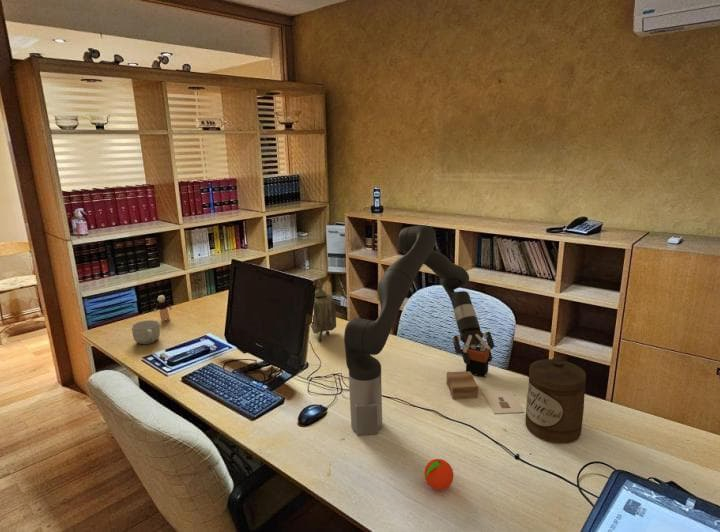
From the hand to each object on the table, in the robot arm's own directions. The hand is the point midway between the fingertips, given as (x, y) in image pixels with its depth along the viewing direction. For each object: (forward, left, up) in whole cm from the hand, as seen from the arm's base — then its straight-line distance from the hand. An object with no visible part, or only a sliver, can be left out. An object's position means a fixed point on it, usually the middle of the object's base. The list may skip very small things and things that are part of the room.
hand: (479, 362), depth 164 cm
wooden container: (-32, -13, -5) cm, 34 cm away
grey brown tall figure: (+38, +56, -5) cm, 68 cm away
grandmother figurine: (+62, +132, -5) cm, 146 cm away
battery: (+1, 0, -5) cm, 5 cm away
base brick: (-10, +8, -5) cm, 13 cm away
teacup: (+38, +130, -5) cm, 136 cm away
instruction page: (-18, -3, -5) cm, 18 cm away
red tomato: (-53, +24, -5) cm, 58 cm away
